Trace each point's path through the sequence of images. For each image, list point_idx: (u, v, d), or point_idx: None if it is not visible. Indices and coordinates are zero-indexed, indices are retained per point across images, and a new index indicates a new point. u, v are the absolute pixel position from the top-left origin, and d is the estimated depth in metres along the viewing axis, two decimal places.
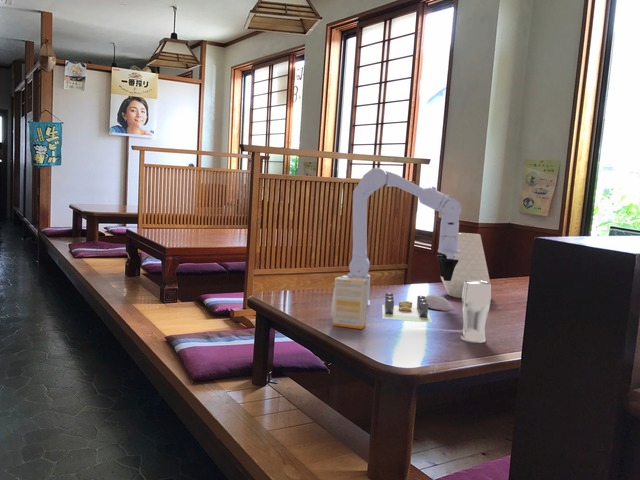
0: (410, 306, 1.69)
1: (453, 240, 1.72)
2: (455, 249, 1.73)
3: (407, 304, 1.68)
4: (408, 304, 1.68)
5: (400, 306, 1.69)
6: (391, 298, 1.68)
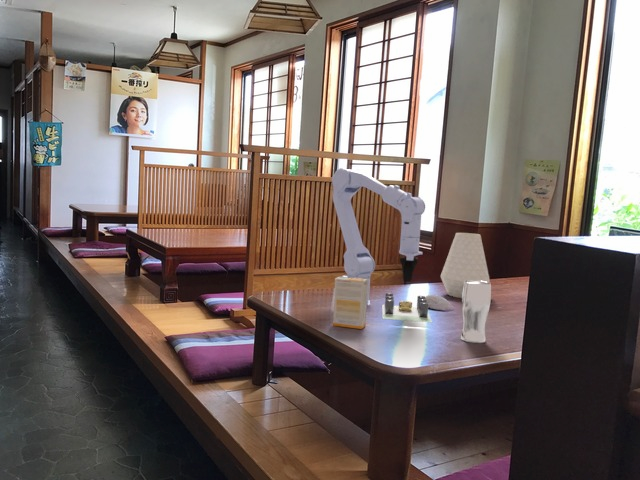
0: (410, 306, 1.69)
1: (414, 241, 1.64)
2: (416, 250, 1.65)
3: (407, 304, 1.68)
4: (408, 304, 1.68)
5: (400, 306, 1.69)
6: (391, 298, 1.68)
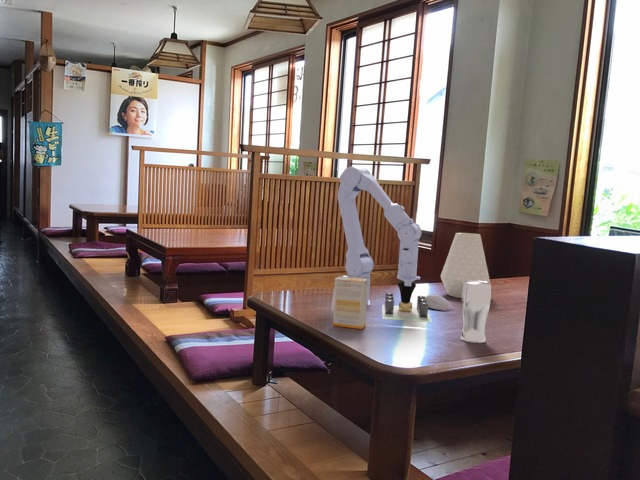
0: (410, 307, 1.67)
1: (412, 266, 1.68)
2: (414, 275, 1.69)
3: (407, 305, 1.67)
4: (408, 305, 1.67)
5: (400, 307, 1.68)
6: (391, 298, 1.68)
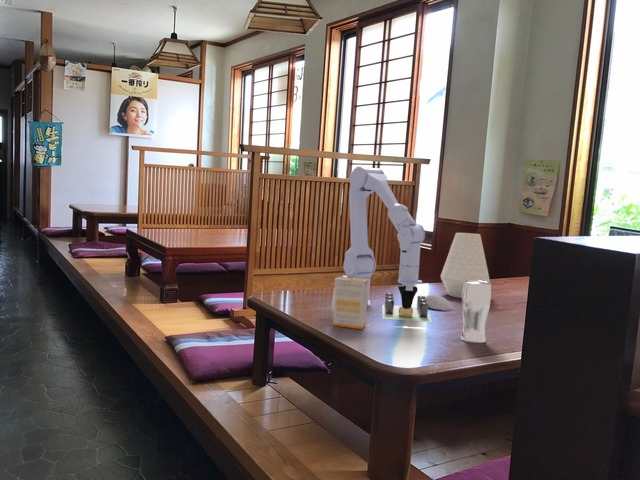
0: (410, 312, 1.60)
1: (413, 270, 1.60)
2: (416, 279, 1.61)
3: (407, 310, 1.59)
4: (408, 310, 1.59)
5: (400, 312, 1.60)
6: (391, 298, 1.68)
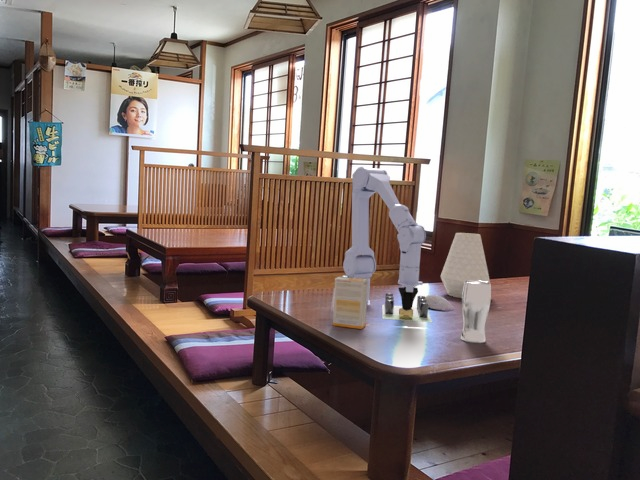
0: (411, 314, 1.58)
1: (414, 271, 1.58)
2: (416, 280, 1.59)
3: (407, 312, 1.57)
4: (408, 312, 1.57)
5: (400, 314, 1.58)
6: (391, 298, 1.68)
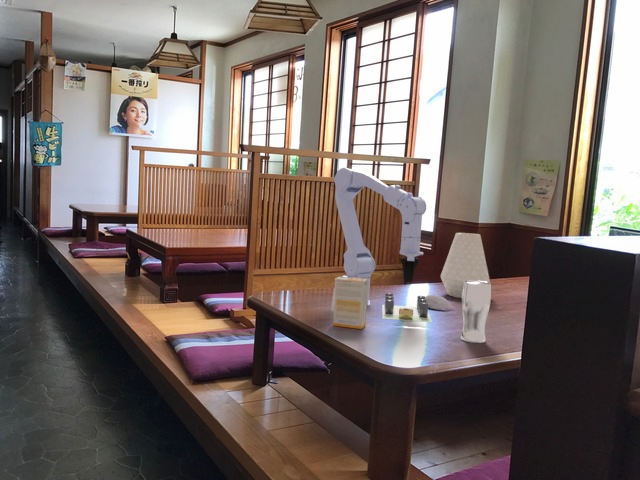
0: (411, 314, 1.58)
1: (415, 241, 1.63)
2: (417, 250, 1.64)
3: (407, 312, 1.57)
4: (408, 312, 1.57)
5: (400, 314, 1.58)
6: (391, 298, 1.68)
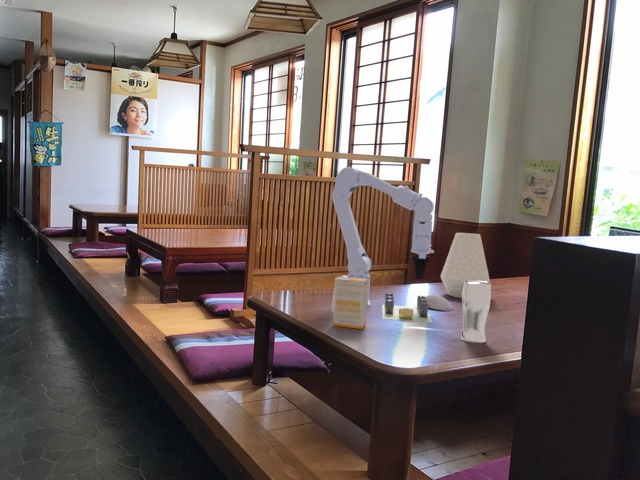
0: (411, 314, 1.58)
1: (426, 239, 1.70)
2: (428, 249, 1.71)
3: (407, 312, 1.57)
4: (408, 312, 1.57)
5: (400, 314, 1.58)
6: (391, 298, 1.68)
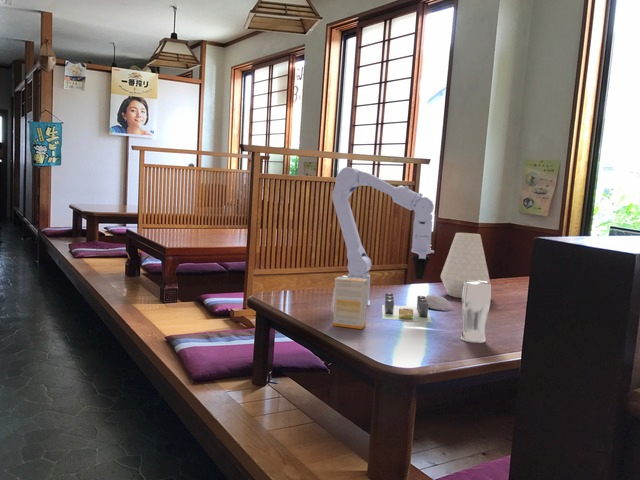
0: (411, 314, 1.58)
1: (426, 239, 1.70)
2: (428, 249, 1.71)
3: (407, 312, 1.57)
4: (408, 312, 1.57)
5: (400, 314, 1.58)
6: (391, 298, 1.68)
